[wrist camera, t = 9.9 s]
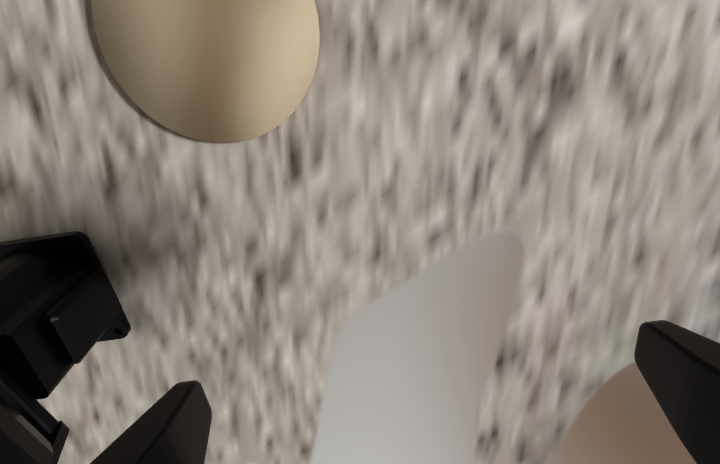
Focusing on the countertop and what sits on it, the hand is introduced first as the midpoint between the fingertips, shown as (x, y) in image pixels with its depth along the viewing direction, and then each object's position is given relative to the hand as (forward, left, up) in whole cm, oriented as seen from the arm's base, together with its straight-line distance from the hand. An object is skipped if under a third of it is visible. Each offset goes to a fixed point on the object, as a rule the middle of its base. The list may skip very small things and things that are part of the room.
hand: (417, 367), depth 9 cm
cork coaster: (-6, +7, -13) cm, 16 cm away
